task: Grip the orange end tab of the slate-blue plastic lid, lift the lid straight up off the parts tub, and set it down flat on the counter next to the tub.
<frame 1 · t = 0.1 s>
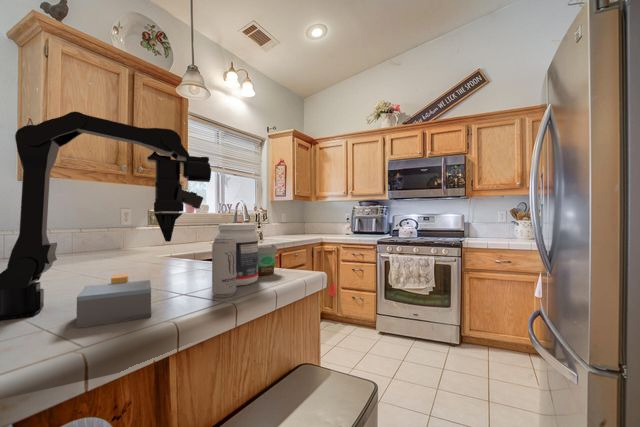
hand: (167, 240, 77), 15 cm above the worktop, tool pointing down, fingers open, 9 cm apart
supplement tub: (237, 283, 93), on the worktop
lid: (117, 291, 63), point 5 cm above the worktop, touching parts tub
parts tub: (117, 315, 63), on the worktop
food container: (265, 275, 106), on the worktop
energy drink can: (224, 295, 79), on the worktop
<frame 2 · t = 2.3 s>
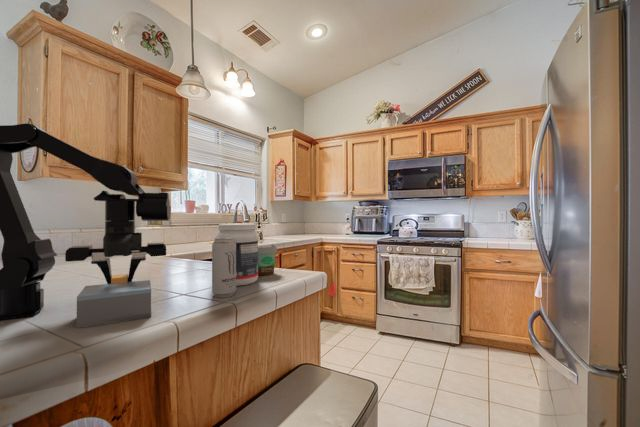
hand: (119, 288, 69), 4 cm above the worktop, tool pointing down, fingers closed on lid, 3 cm apart
lid: (117, 291, 63), point 5 cm above the worktop, touching gripper, parts tub
everything else where it was.
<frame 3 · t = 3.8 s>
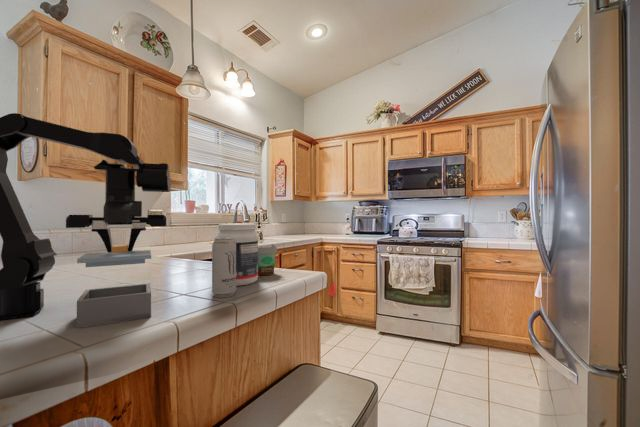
hand: (120, 258, 69), 11 cm above the worktop, tool pointing down, fingers closed on lid, 3 cm apart
lid: (117, 257, 63), point 12 cm above the worktop, touching gripper
everything else where it was.
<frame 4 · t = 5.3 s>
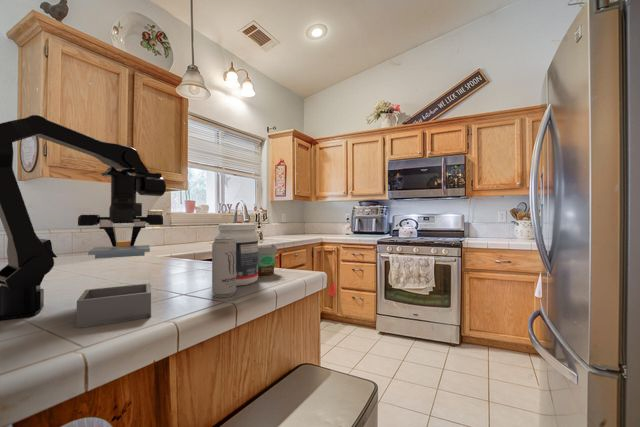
hand: (123, 252, 81), 11 cm above the worktop, tool pointing down, fingers closed on lid, 3 cm apart
lid: (121, 251, 74), point 12 cm above the worktop, touching gripper
everything else where it was.
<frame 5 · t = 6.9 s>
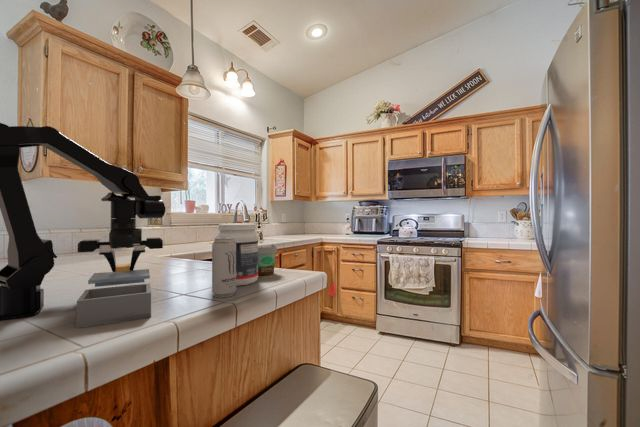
hand: (123, 276, 81), 4 cm above the worktop, tool pointing down, fingers closed on lid, 3 cm apart
lid: (121, 277, 75), point 5 cm above the worktop, touching gripper
everything else where it was.
when the fingers open (2 cm above the worktop, at t = 8.3 s): lid drops 2 cm, point 1 cm above the worktop.
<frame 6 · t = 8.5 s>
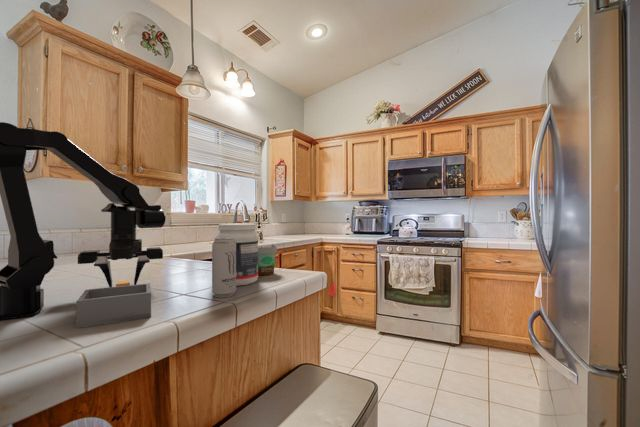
hand: (123, 286, 81), 2 cm above the worktop, tool pointing down, fingers open, 5 cm apart
lid: (121, 295, 75), point 1 cm above the worktop
everything else where it was.
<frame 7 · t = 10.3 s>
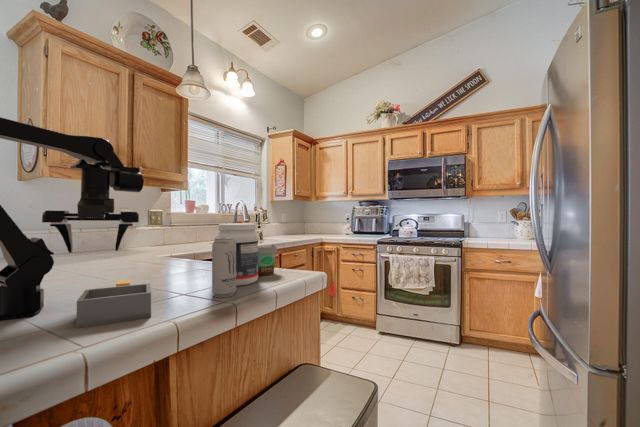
hand: (94, 251, 75), 12 cm above the worktop, tool pointing down, fingers open, 9 cm apart
nothing on the worktop moved.
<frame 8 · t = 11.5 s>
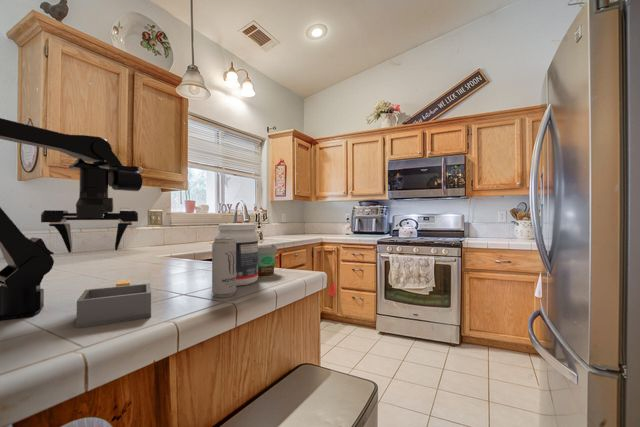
hand: (93, 251, 74), 12 cm above the worktop, tool pointing down, fingers open, 9 cm apart
nothing on the worktop moved.
at the end: lid inside the target area (1.9 cm from its centre), point 1.0 cm above the worktop; lid touching worktop; the gripper is holding nothing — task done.
